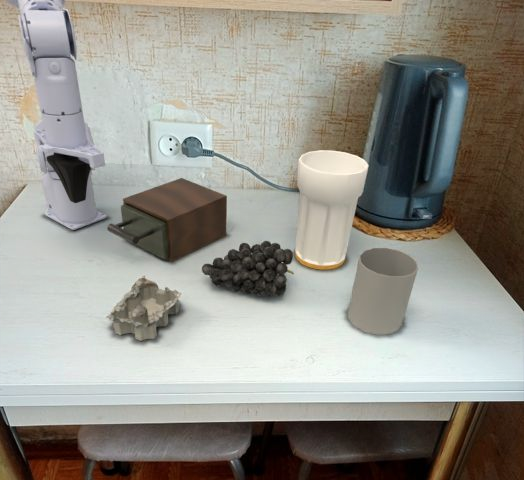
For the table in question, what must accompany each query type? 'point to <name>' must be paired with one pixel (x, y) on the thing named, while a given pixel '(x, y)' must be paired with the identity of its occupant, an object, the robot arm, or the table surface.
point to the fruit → (252, 269)
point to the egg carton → (144, 309)
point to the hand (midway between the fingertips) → (78, 200)
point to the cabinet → (185, 214)
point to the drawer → (142, 230)
